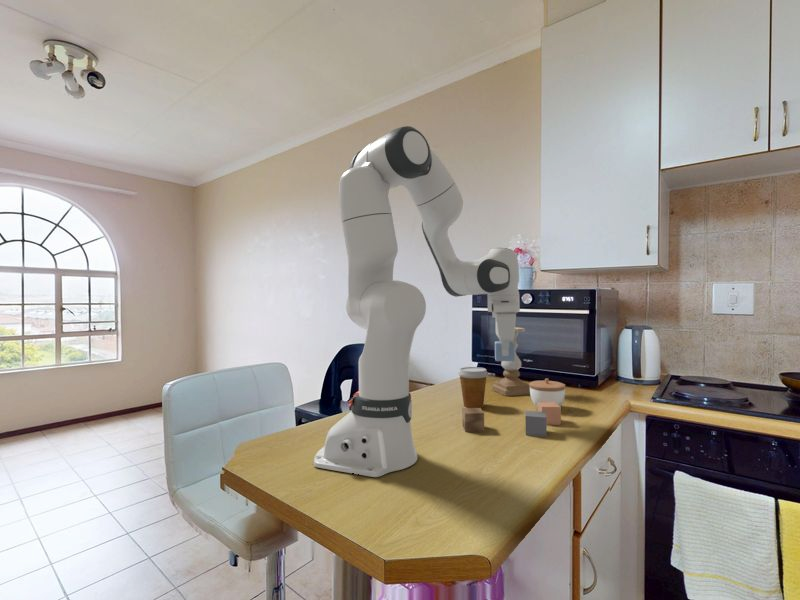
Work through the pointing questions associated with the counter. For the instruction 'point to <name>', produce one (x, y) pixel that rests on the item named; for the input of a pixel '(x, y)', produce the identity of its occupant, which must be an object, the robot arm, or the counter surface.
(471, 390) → the disposable coffee cup
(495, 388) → the candle holder
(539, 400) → the lidded jar
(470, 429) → the walnut cube
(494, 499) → the counter surface
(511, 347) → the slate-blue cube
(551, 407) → the terracotta cube
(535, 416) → the charcoal cube
